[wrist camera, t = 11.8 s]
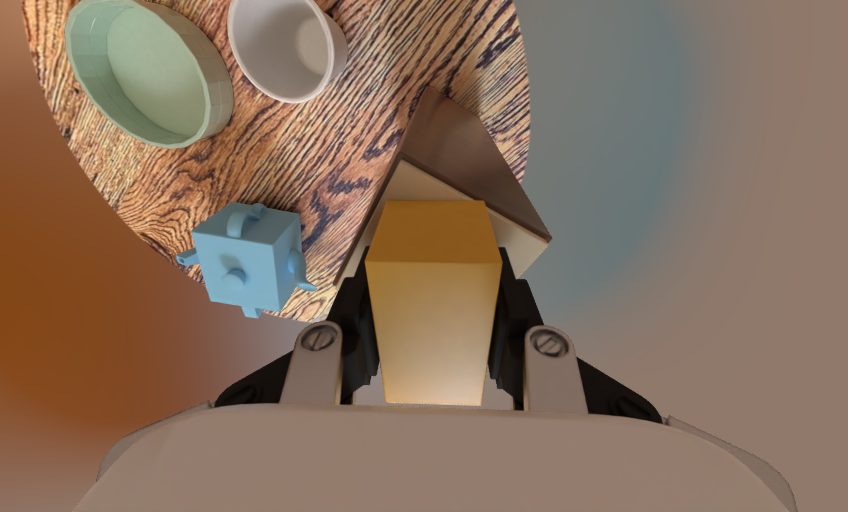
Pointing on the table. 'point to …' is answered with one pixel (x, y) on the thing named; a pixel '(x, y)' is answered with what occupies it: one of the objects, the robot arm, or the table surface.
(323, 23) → the dixie cup
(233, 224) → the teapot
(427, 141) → the stand
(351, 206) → the table surface
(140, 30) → the bowl
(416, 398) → the yellow rectangular block
